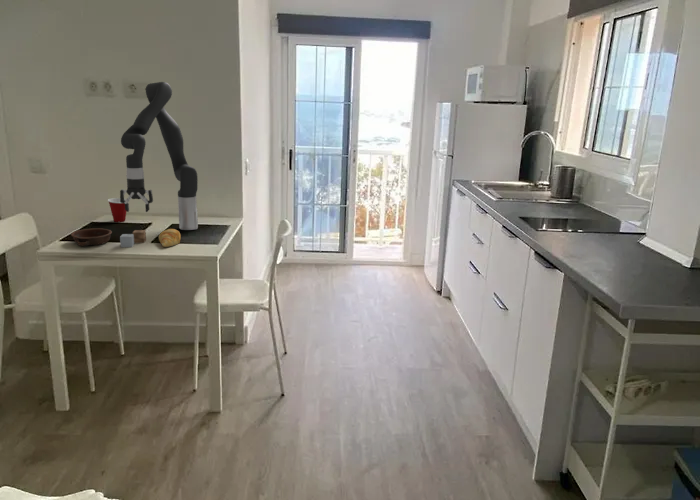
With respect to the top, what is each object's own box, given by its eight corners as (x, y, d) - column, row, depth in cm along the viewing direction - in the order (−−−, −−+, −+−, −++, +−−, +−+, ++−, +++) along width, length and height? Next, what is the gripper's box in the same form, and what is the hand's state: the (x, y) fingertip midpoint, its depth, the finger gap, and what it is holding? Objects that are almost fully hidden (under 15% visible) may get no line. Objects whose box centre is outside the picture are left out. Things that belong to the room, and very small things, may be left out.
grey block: (134, 244, 261) (133, 234, 260) (132, 247, 256) (131, 236, 255) (123, 244, 260) (122, 234, 259) (120, 247, 255) (119, 236, 254)
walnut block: (146, 240, 269) (145, 230, 268) (144, 242, 265) (143, 232, 263) (135, 240, 268) (134, 230, 267) (133, 242, 264) (132, 232, 262)
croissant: (171, 256, 257) (178, 241, 256) (151, 245, 255) (158, 231, 253) (181, 243, 277) (188, 229, 276) (162, 233, 275) (169, 220, 274)
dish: (61, 247, 252) (60, 237, 250) (86, 236, 273) (85, 226, 272) (98, 249, 251) (97, 239, 250) (121, 238, 272) (120, 228, 271)
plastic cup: (123, 223, 299) (121, 201, 296) (105, 222, 301) (103, 200, 298) (134, 219, 309) (133, 198, 306) (117, 218, 311) (115, 197, 308)
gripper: (152, 176, 263) (154, 210, 268) (120, 175, 261) (123, 209, 265) (150, 178, 256) (151, 213, 260) (117, 178, 254) (119, 213, 258)
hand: (137, 211), depth 263 cm, fingers open, 8 cm apart
